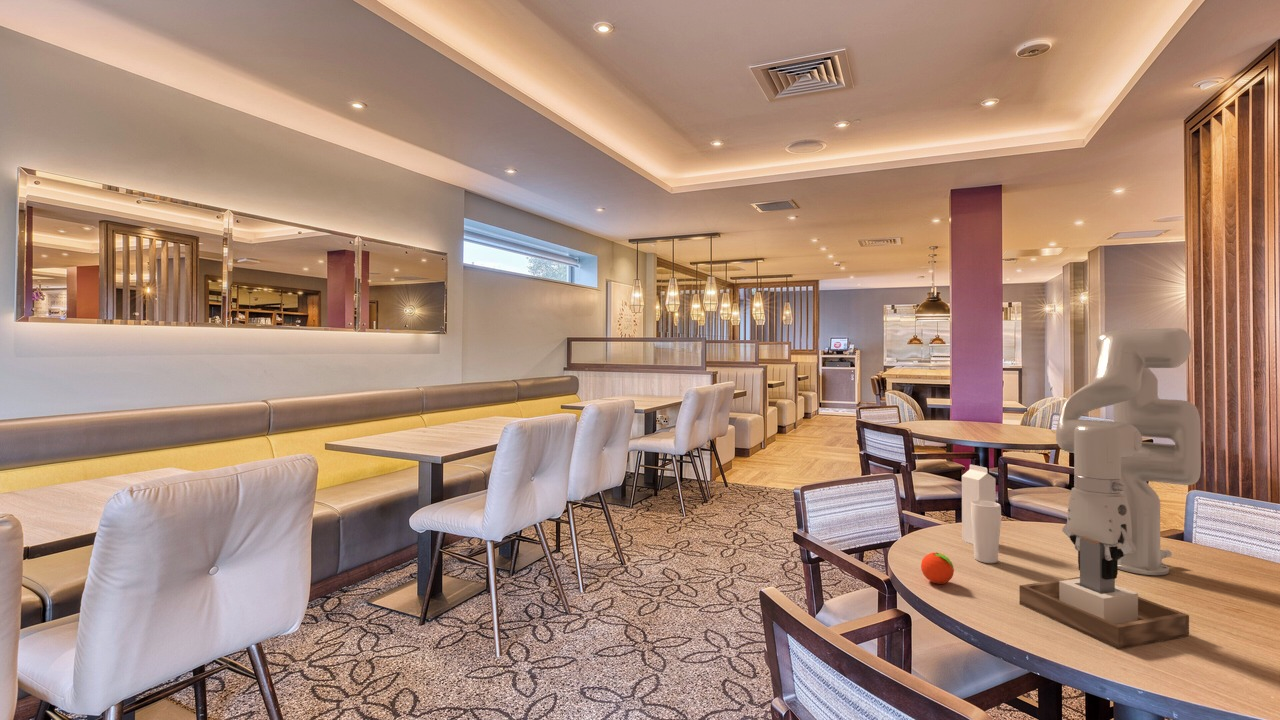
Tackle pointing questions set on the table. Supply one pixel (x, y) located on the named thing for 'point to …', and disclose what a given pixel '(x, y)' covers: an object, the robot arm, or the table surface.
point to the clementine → (937, 568)
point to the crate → (1147, 629)
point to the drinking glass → (985, 530)
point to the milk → (975, 495)
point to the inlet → (1101, 601)
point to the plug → (1093, 567)
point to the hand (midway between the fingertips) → (1097, 573)
